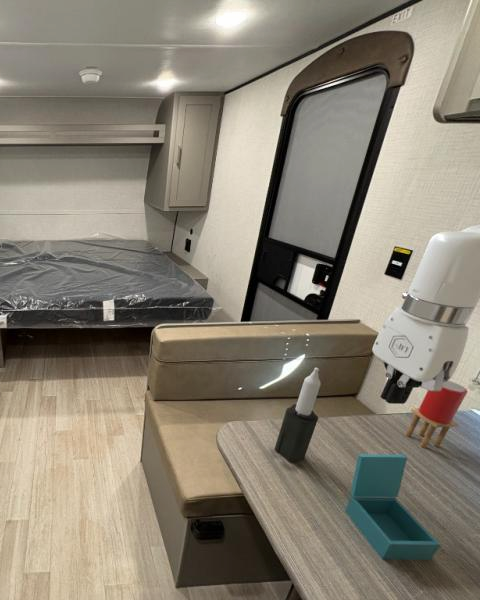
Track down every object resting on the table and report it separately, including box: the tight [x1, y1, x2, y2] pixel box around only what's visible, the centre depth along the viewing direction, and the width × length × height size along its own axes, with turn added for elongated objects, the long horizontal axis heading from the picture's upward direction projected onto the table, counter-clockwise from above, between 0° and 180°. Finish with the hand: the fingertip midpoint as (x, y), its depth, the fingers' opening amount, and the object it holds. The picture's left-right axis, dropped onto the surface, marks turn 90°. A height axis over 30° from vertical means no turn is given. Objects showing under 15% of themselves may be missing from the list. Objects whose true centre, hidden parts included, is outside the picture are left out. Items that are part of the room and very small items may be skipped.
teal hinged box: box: [344, 496, 441, 560], centre depth 59 cm, size 9×9×5 cm
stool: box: [405, 407, 460, 449], centre depth 80 cm, size 6×6×8 cm
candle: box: [274, 367, 321, 465], centre depth 73 cm, size 5×5×25 cm
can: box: [418, 380, 468, 424], centre depth 77 cm, size 6×6×9 cm
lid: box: [350, 453, 408, 498], centre depth 61 cm, size 9×9×1 cm
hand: (392, 400), depth 58 cm, fingers closed
